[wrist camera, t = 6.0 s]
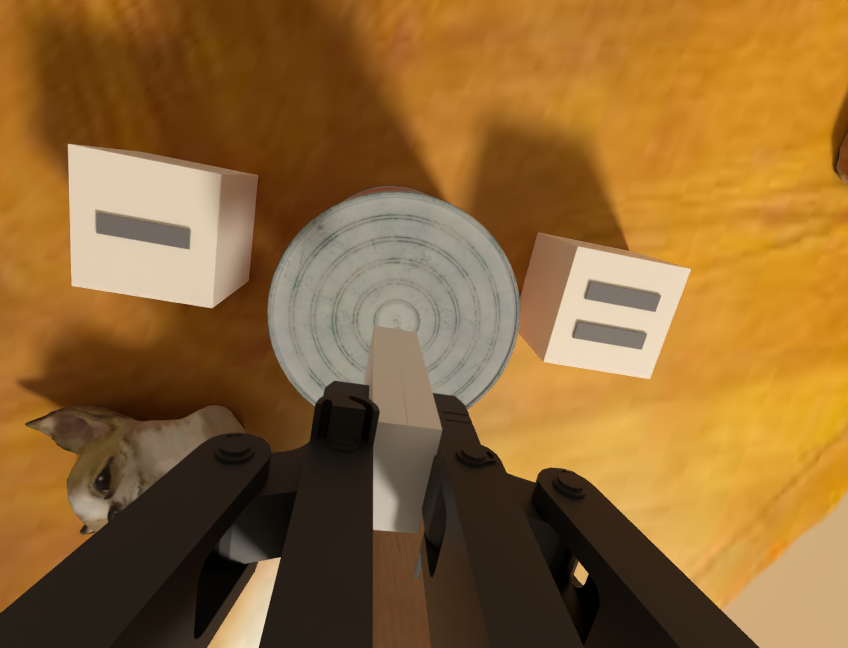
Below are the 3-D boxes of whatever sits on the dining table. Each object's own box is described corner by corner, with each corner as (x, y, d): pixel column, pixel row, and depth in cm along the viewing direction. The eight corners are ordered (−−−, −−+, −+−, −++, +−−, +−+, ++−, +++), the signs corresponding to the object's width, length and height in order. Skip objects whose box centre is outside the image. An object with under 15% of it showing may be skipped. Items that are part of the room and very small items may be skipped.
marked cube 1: (512, 325, 34) (544, 362, 27) (537, 231, 32) (579, 246, 25) (599, 340, 35) (651, 380, 28) (628, 250, 33) (692, 269, 26)
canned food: (504, 259, 32) (570, 305, 21) (402, 374, 34) (411, 472, 23) (380, 148, 29) (377, 129, 18) (276, 280, 31) (214, 340, 20)
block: (368, 466, 36) (351, 782, 17) (488, 480, 38) (593, 787, 19) (350, 564, 39) (318, 927, 20) (462, 574, 41) (530, 923, 22)
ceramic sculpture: (255, 574, 28) (20, 610, 28) (291, 483, 36) (109, 512, 36) (200, 423, 25) (-65, 467, 25) (253, 361, 33) (54, 395, 33)
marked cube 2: (140, 262, 30) (69, 286, 23) (142, 151, 28) (65, 143, 21) (249, 280, 31) (211, 308, 24) (258, 175, 29) (220, 174, 22)
